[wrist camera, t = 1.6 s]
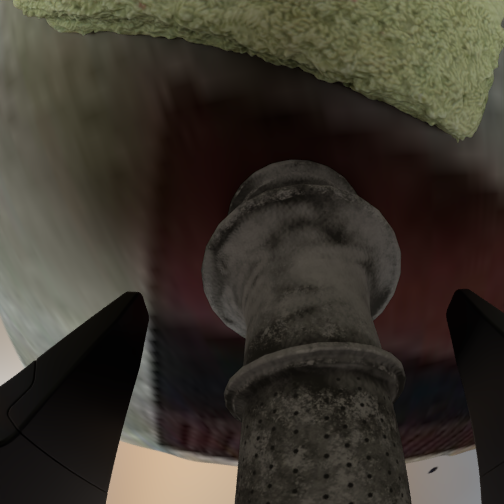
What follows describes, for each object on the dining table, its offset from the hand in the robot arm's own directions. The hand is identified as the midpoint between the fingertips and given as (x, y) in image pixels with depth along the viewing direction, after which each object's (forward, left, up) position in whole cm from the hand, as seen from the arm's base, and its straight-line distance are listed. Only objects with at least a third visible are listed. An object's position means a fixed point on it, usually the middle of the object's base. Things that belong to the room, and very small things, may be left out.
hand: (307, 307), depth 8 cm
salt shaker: (0, 0, -5) cm, 5 cm away
